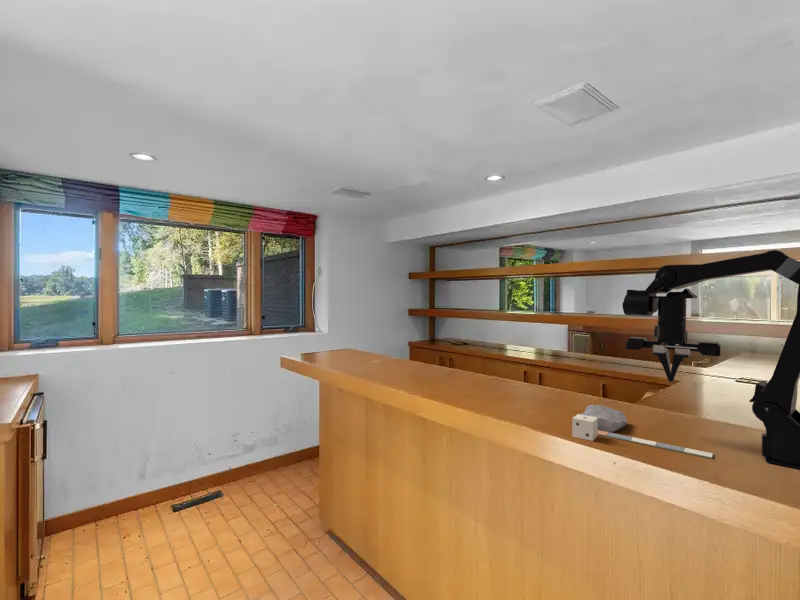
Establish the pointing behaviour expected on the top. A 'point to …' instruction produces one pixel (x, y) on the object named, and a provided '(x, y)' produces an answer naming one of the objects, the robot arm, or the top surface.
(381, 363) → the top surface
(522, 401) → the top surface
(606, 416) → the stone block
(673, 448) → the strip
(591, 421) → the die
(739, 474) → the top surface
